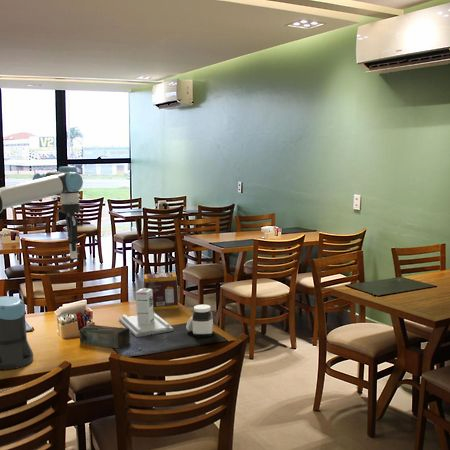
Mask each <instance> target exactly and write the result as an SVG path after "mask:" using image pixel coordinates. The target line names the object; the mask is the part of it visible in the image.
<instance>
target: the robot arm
mask: <svg viewBox="0 0 450 450" xmlns="http://www.w3.org/2000/svg"><path fill="white" fill-rule="evenodd" d="M83 184H84V180H83V178H82V176H81V174H79V172H78V168H77V166H75V165H72V166H59V167H58V171H47V172H46V171H45V172H37V173H35V174H34V175H33V177H32V180H28V181H23V182H20V183H14V184H11V185H7V186H2V187H0V214H1V213H2V212H3V210H6V209H8V208H9V209H10V208H13V207H17V206H20V205H24V204H28V203H31V202H36V201H38V200H42V199H46V198H49V197H54V196H57V195H59V196H60V197H59V198H60V203H61V205H60V206H61V207H60V209H61V213H62V214H66V216H65V222H66V230H67V232H66V233H67V241H68V244H69V257H70V259H72V260H73V259H78V247H77V245H78V217H77V216H76V213H80V212H81V206H80V198H81V194H79V192H80V190H81V189H82V187H83ZM33 361H34V353H33V350H32V349H31V346H30V343H29V342H28V338H27V325H26V308H25V303H24V301H23V300H22V299H21V298H19V297H18V296H17V297H16V296H7V295H6V296H5V295H4V296H0V369H10V370H13V369H12V368H16V369H18V368H17V367H20V368H22V366H23V367H25V365H26V366H27V365H29V364H31V363H32V362H33Z"/></svg>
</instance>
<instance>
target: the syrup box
mask: <svg viewBox="0 0 450 450" xmlns="http://www.w3.org/2000/svg"><path fill="white" fill-rule="evenodd" d="M135 300H136V301H135V302H136V303H135V304H136V315H137V320H138V324H141V325H150V324H151V323H152V322H153V321H154V313H155V310H154V307H153V292H152V289H149V288H144V287H143V288H140V289H139V290H137V291H135Z"/></svg>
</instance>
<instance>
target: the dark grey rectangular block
mask: <svg viewBox="0 0 450 450" xmlns="http://www.w3.org/2000/svg"><path fill="white" fill-rule="evenodd" d="M78 331H79V342H80V343H79V344H83V345H90V346H97V347H107V348H112V349H121V348H123V347H124V346H126V345H129V344H130V343H131V340H130V339H131V337H130V335H131V334H130V331H129V328H128V329H127V328H126V327H116V326H107V325H98V324H92V323H91V324H89V325H87V326H83V327H82V328H80V329H79V330H78ZM128 343H129V344H128Z"/></svg>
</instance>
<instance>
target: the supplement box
mask: <svg viewBox="0 0 450 450" xmlns="http://www.w3.org/2000/svg"><path fill="white" fill-rule="evenodd" d="M143 286H144V287H143V289H144V288H149V289H152V292H153V307H154V311H158V310H172V309H179V297H178V293H179V292H178V276H177V275H176V273H175V272H173V271H172V272H159V273H146V274H143Z"/></svg>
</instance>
